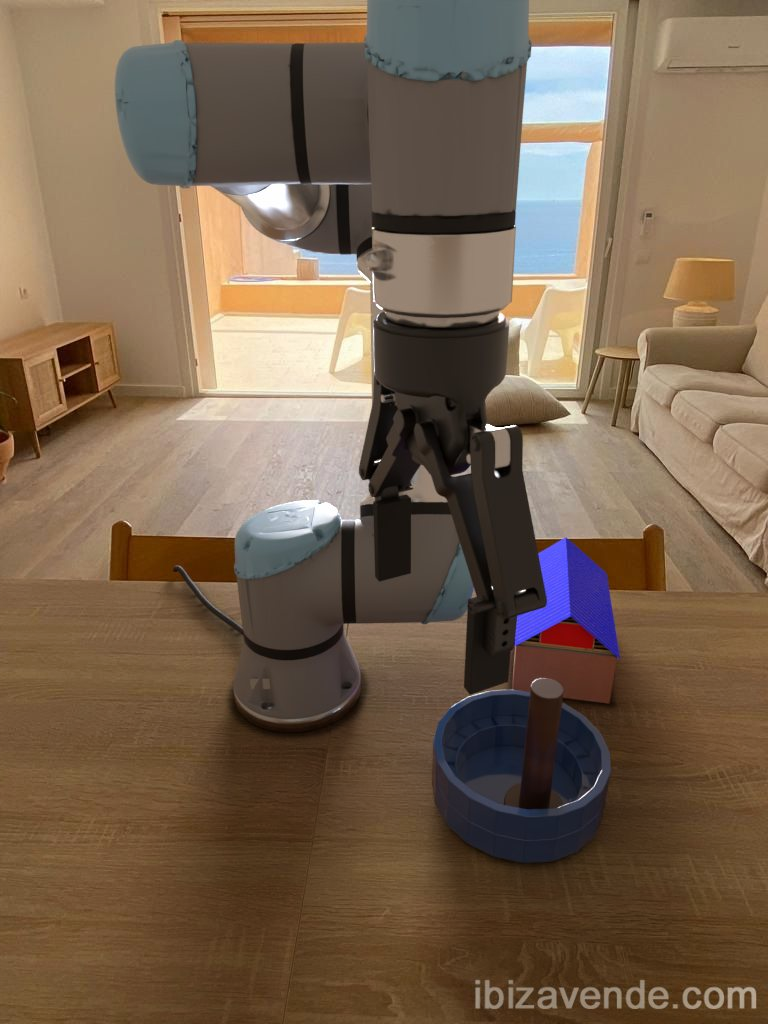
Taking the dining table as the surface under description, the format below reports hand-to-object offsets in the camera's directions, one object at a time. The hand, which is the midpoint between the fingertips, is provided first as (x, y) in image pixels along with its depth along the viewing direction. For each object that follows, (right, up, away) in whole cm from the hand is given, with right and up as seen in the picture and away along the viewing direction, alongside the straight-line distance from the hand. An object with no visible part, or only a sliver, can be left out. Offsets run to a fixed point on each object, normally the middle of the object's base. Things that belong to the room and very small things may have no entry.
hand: (434, 624), depth 48 cm
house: (+20, -11, +43) cm, 49 cm away
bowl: (+10, -21, +21) cm, 31 cm away
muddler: (+11, -21, +18) cm, 30 cm away
